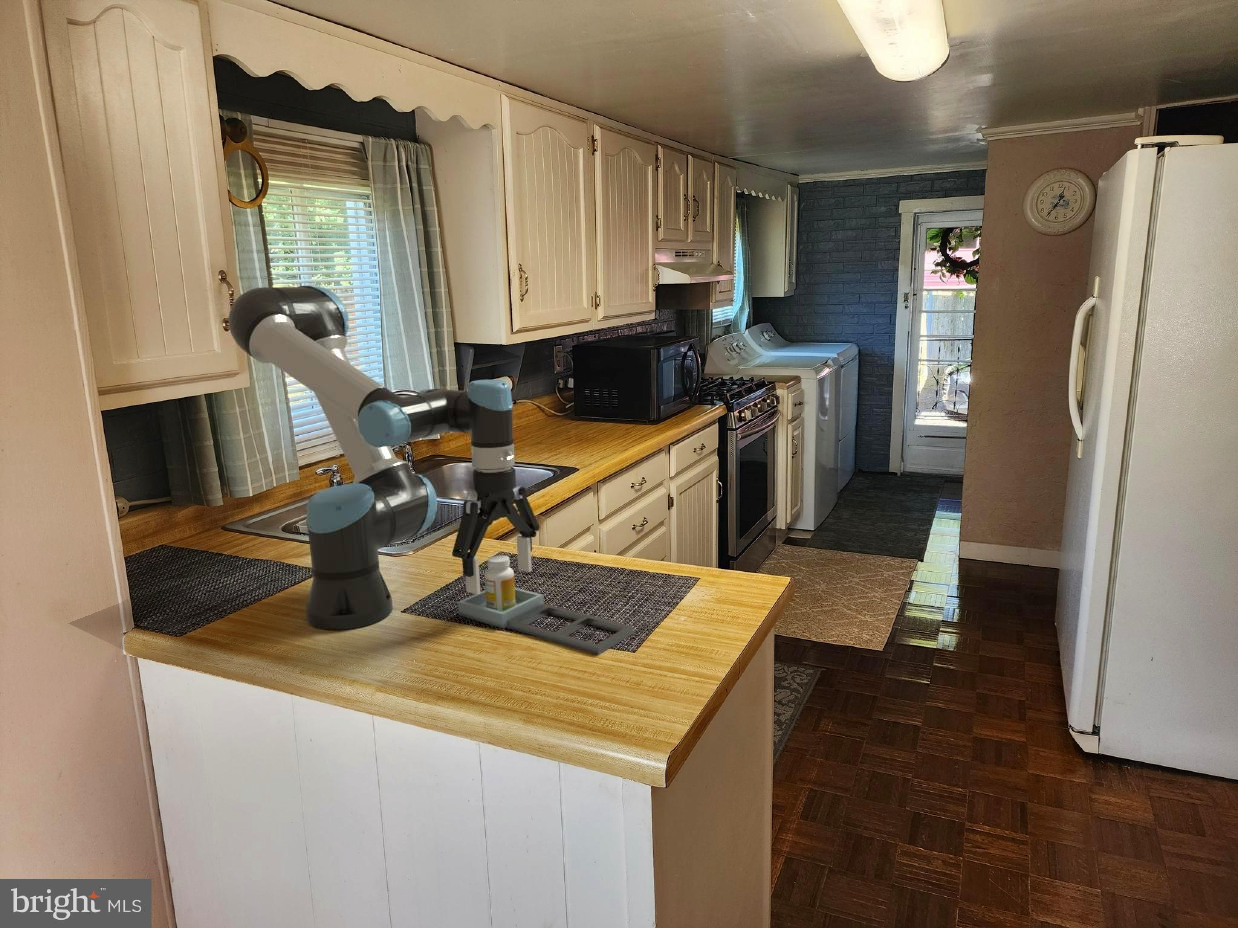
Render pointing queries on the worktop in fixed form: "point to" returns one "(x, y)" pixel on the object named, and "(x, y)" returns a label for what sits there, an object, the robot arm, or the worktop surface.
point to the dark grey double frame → (570, 628)
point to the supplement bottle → (499, 584)
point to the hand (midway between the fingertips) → (500, 581)
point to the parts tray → (477, 610)
